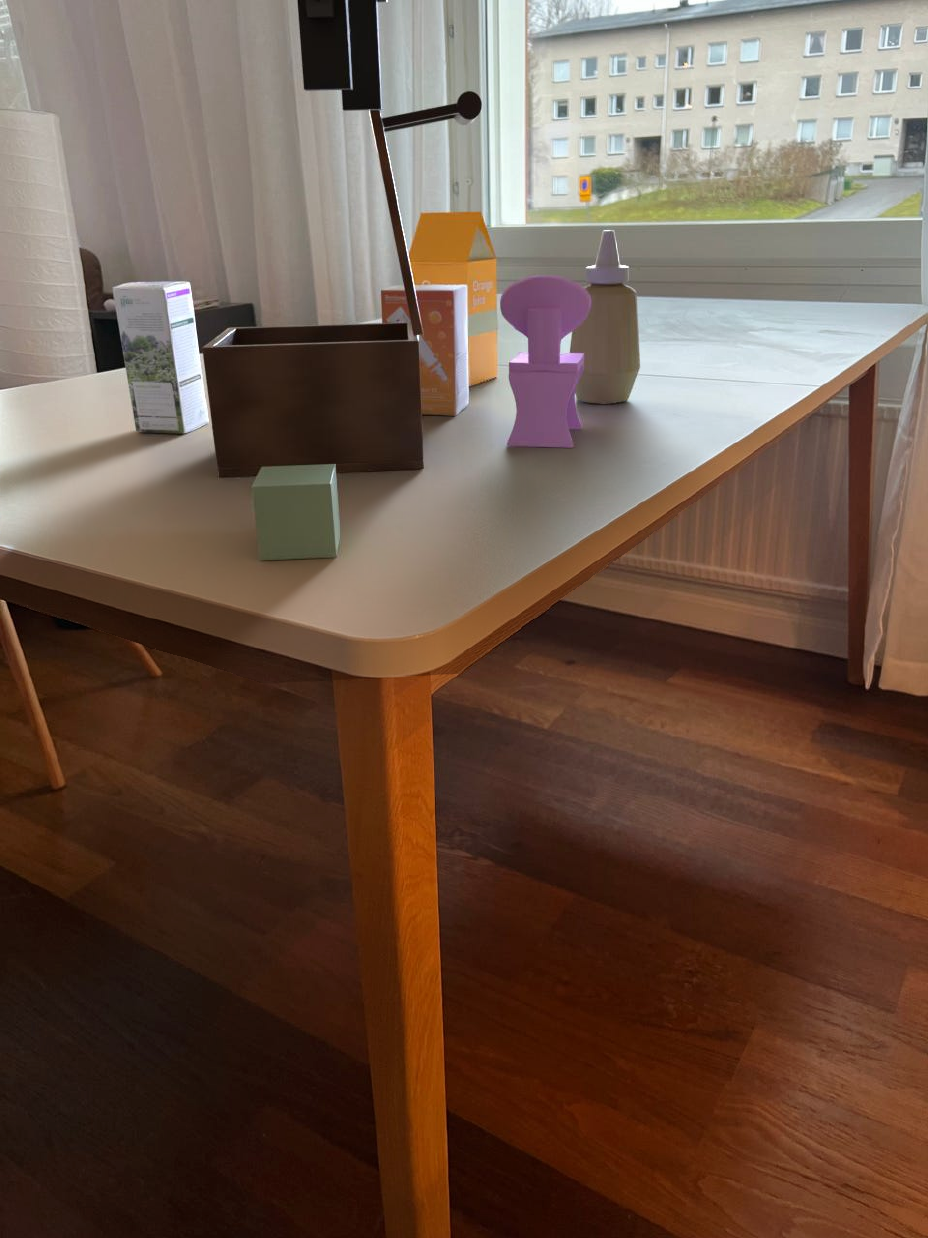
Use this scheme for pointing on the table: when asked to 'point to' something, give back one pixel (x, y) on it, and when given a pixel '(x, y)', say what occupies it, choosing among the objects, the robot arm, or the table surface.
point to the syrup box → (161, 356)
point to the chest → (315, 397)
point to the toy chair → (545, 358)
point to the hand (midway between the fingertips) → (347, 101)
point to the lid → (461, 112)
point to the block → (296, 512)
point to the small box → (437, 343)
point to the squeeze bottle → (608, 330)
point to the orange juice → (462, 278)
